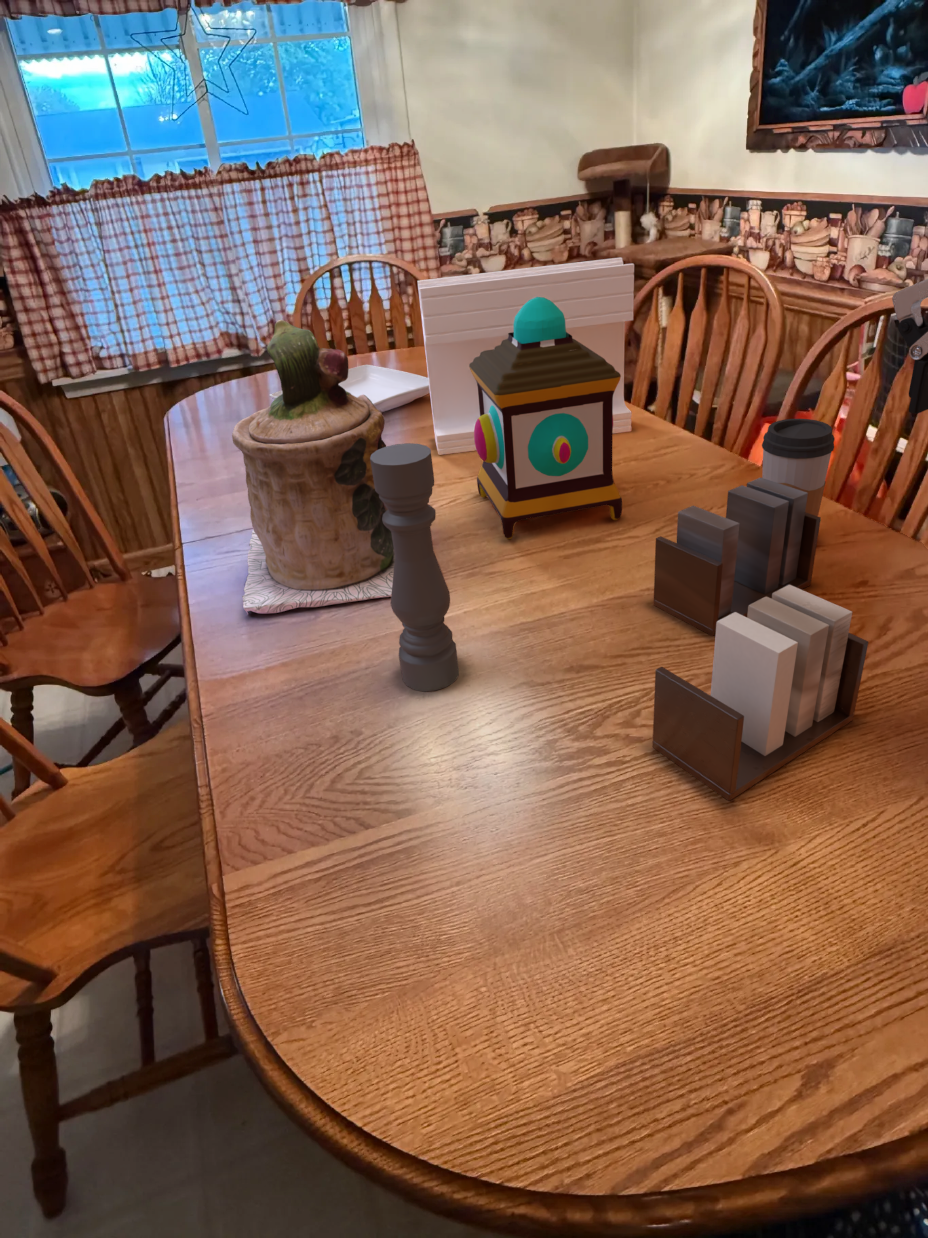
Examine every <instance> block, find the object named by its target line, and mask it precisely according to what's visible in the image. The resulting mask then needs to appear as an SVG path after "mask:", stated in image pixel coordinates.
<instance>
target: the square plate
mask: <svg viewBox="0 0 928 1238" xmlns="http://www.w3.org/2000/svg"><path fill="white" fill-rule="evenodd" d="M339 385H340V386H341V387H342V388H343V389H345V390H346V391H347V392H349V393H351V395H353V396H355V397H359V396H360V395H362V394H364V395H365V396H367V397H368V398H369V399H370V400H371V402H372V403H373V405H374V406H375V407H376V408H377V409H378V410H379V411H380V412H381V413H382V414H383V413H386V412H388V411H391V410H394V409H396V408H399V407H402V406H404V405H407V404H410V403H412V402H413V401H415V400H417V399H420V398H423V397H425V396H427V395H430V389H429V380H428V376H423V375H420V374H416V373H412V372H407V371H403V370H398V369H394V368H388V367H383V366H377V365H376V366H375V365H372V364H363V365H359V366H355V367H351V368H348V378H347V379H346V380H345V381H343V382H341V383H339ZM282 394H283V393H282V389H281V390H279V391H276V392H272V393H270V394H268V396H269V398H272V400H273V401H274V400H275V399H276V398H277V397H278V396H280V395H282Z"/></svg>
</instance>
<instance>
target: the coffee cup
mask: <svg viewBox="0 0 928 1238" xmlns="http://www.w3.org/2000/svg"><path fill="white" fill-rule="evenodd" d="M762 439H763V441H762V444H761V448H762V449H763V450H762V474H761V478H764V479H767V480H770V481H773V482H776V483H779V484H782V485H785V486H788V487H791V488H795V489H798V490H801V491H804V492H807V493H808V495H807V502H806V510H805V512H806V513H809V514H812V515H815V516H818V517H819V513H820V509H821V505H822V499H823V495H824V491H825V487H826V480H827V479H826V478H827V476H828V475H827V474H828V469H829V465H830V461H831V456H832V452H834V450H835V436H834V434H833V428H832V426H831V425H830V424H828V423H826V422H824V421H821V420H817V419H810V418H787V419H786V418H785V419H781V420H777V421H774V422H772V423H771V424H769V425H768V427H767V430H766V432H765V433H764V435H763V438H762Z"/></svg>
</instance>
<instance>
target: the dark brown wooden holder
mask: <svg viewBox="0 0 928 1238" xmlns="http://www.w3.org/2000/svg"><path fill="white" fill-rule="evenodd" d="M807 495H808V493H807V492H804V491H801V490H798V489H795V488H791V487H788V486H785V485H782V484H779V483H776V482H773V481H770V480H767V479H764V478H762V477H758V478H755V479H753V480H751V481H748V482H747V483H746V486H745V485H738V486H736V487H734V488H732V489H729V490H728V491H727V497H726V498H727V499H726V509H725V510H726V511H725V512H726V513H725V517H724V516H721V515H719V514H717V513H714V512H712V511H709V510H706V509H703V508H701V507H698V506H696V505H691V506H689V507H686V508H684V509H681V510H678V511H677V524H676V525H677V526H676V542H675V541H672V540H670V539H668V538H666V537H664V536H661V535H660V536H658V537H655V551H654V552H655V554H654V576H653V577H654V578H653V580H654V581H653V603H652V604H653V606H655V607H656V608H658V609H660V610H662V611H664V612H666V613H667V614H669V615H671V616H673V617H676V618H677V619H679V620H680V621H683V622H685V623H687V624H688V625H690V626H692V627H694V628H696V629H698V630H700V631H702V632H704V633H705V634H707V635H709V636H711V637H713V636H716V624H717V621H719V620H721V619H723V618H725V617H727V616H728V615H730V614H732V613H734V612H736V613H738V614H741V615H743V616H745V617H747V614H748V606H749V605H750V604H752V603H754V602H756V601H758V600H760V599H762V598H764V597H769V598H771V599H772V594H773V593H774V592H776V591H778V590H780V589H782V588H784V587H786V586H788V585H792V586H794V587H796V588H799V589H801V590H804V589H806V588H807V587H809V586H811V584H812V578H813V572H814V565H815V560H816V559H815V558H816V552H817V545H818V540H819V539H818V538H819V533H820V532H819V531H820V525H821V516H819V515H818V516H815V515H812V514H809V513H806V512H805V510H806V502H807Z"/></svg>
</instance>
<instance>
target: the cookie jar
mask: <svg viewBox="0 0 928 1238" xmlns="http://www.w3.org/2000/svg"><path fill="white" fill-rule="evenodd" d="M266 351H267V355H268V356H269V357H270V359H271V360H272V361H273V363H274V367H275V369H276V371H277V375H278V377H279V381H280V389H281V390H282V393H283V394H282V395H280V396H278V397H277V398H276V399H275V400H274V399H273V401H272V402H271V404H270V406H268V407H266V408H263V409H260V410H258V411H256V412H254V413H252V414H250V415H249V416H247V417H245V418H242V419H241V420H239V421H238V422H237V423H236V424H235V426H233V431H232V432H231V434H232V435H231V438H232V444H233V445H234V446H235V447H236V448H237V449H238V450H239V451H241V453H242V456H243V463H244V468H245V483H246V488H247V499H248V503H249V507H250V512H249V513H250V521H251V526H252V531H251V538H250V539H249V545H248V546H249V547H250V549H249V550H248V552H247V561H246V562H247V566H248V568H247V573H248V575H247V576H246V581H245V586H244V588H243V592H244V594H243V595H241V597H242V607H243V610H244V611H245V612H246V614H247V615H249V612H253V613H256V614H277V613H282V612H285V611H289V610H294V609H297V608H318V607H325V606H331V605H339V604H345V603H351V602H353V603H354V602H358V601H366V600H373V599H380V598H391V594H392V584H393V574H394V563H395V553H394V547H393V540H392V534H391V531H390V530H389V529H388V528H387V527H386V526H385V525H384V524H383V521H382V517H383V514H384V513H385V512H386V511H387V510H388V509H387V508H386V507H385V505H384V503H383V502H382V500H381V499H380V498H379V494H378V493H377V492H376V491H375V486H374V480H373V474H372V467H371V461H370V457H371V454H373V453H374V452H375V451H376V450H379V449H381V448H384V447H387V444H386V443H385V441H384V440H383V439H382V435H383V432H384V429H385V417H384V415H383V412H382V413H381V412H380V411H379V410H378V409H377V408H376V407H375V406H374V405H373V403H372V402H371V400H370V399H369V398H368V397H367V396H365V395H364V394H362V395H360V396H359V397H355V396H353V395H351V393H349V392H347V391H346V390H345V389H343V388H342V387H341V386H340V385H339V383H341V382H343V381H345V380H346V379H347V378H348V369H349V358H348V355H347V354H346V353H345V352H344V351H343V350H340V349H337V348H336V349H335V348H327V347H326V348H325V347H320V346H319V344H318V340H317V338H316V337H315V335H314V333H313V331H311V330H310V329H304V328H300V327H298V326H295V325H293V324H291V323H289V322H288V321H285V320H283V319H277V321H276V322H275V324H274V331H273V336H272V338H271V339H270V341H269V343H268V345H267V346H266Z"/></svg>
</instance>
